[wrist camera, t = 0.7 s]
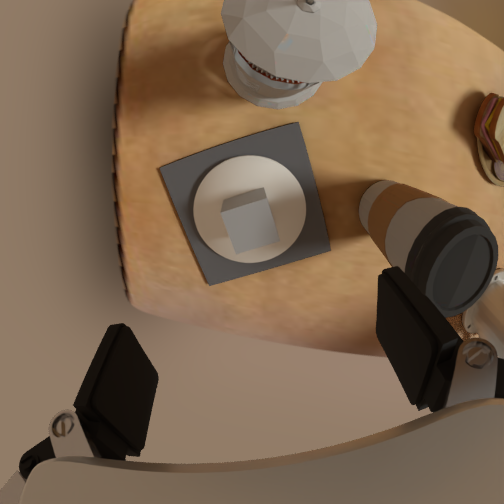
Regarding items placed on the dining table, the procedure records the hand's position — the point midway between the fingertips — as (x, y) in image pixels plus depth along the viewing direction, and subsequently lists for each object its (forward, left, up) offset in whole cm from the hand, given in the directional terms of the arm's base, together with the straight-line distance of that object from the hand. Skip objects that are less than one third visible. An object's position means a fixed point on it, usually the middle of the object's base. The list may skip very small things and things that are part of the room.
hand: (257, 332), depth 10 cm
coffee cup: (-6, -14, -21) cm, 25 cm away
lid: (-2, 0, -20) cm, 20 cm away
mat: (-2, 0, -20) cm, 20 cm away
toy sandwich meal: (-1, -34, -21) cm, 40 cm away
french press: (+13, -7, -21) cm, 25 cm away
